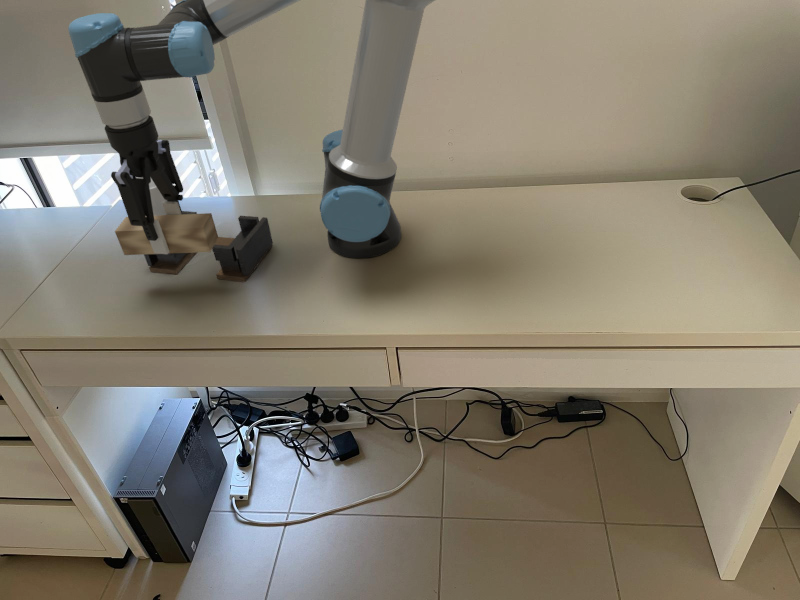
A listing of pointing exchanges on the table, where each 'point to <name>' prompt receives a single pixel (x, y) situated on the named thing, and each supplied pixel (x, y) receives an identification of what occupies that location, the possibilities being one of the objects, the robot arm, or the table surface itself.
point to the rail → (171, 234)
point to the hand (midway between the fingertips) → (171, 242)
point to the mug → (156, 199)
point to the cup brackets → (225, 251)
